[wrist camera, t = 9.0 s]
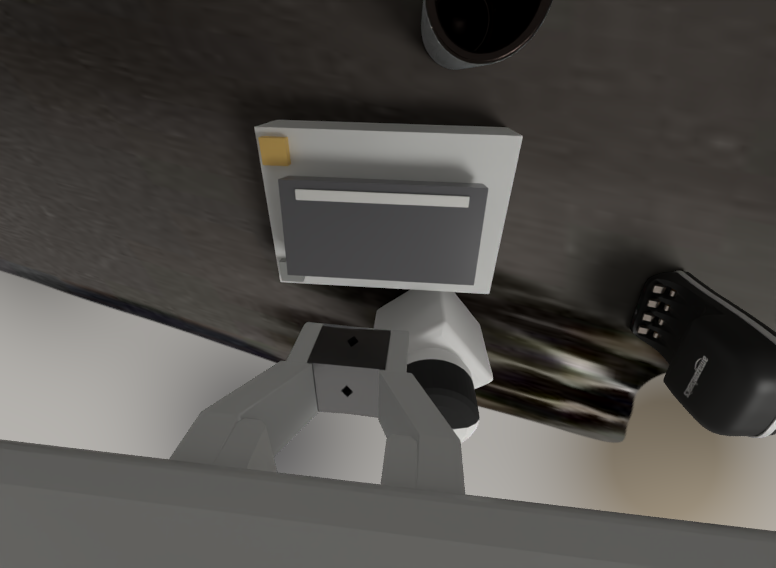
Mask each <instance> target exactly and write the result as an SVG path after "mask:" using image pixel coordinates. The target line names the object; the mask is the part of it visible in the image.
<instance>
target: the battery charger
mask: <svg viewBox="0 0 776 568" xmlns="http://www.w3.org/2000/svg"><path fill="white" fill-rule="evenodd" d="M630 328H631V331H632V332H633V333H634V334H635V335H636V336H637V337H638V338H640V339H641V340H643V341H644V342H646V343H647V344H649V345H650V346H652V347H653V348H654V349H656V350H657V351H658V352H659V353H660V354H661V355H662V356H663V357H664V358H665V359H666V361H667V362H668V363H669V364H670V366H669V368H668V370H667V372H666V375H665V377H664V383H665V384H666V386H667V387H668V388H669V390H670V391H671V393H672V394H673V395H674V396H675V397H676V399H677V400H678V401H679V402H680V403H681V404H682V405H683V407H684V408H685V409H686V410H687V411H688V412H689V413H690V414H691V415H692V416H693V418H695V420H697V421H698V422H699V423H700V424H701V425H702V426H703V427H704V428H706V429H707V430H709V431H711V432H713V433H716V434H720V435H727V436H748V437H753V438H764V437H767V436H769V435H773V434H775V433H776V332H774V331H773V330H772V329H770V328H769V327H768V326H766V325H765V324H763V323H762V322H760V321H759V320H758V319H756V318H755V317H753V316H752V315H750V314H749V313H747V312H746V311H744V310H743V309H741V308H740V307H738V306H737V305H735V304H733V303H732V302H730V301H729V300H727V299H726V298H724V297H722V296H721V295H719V294H718V293H716V292H715V291H713V290H712V289H710V288H709V287H708V286H706V285H705V284H704V283H702V282H701V281H699V280H698V279H697V278H696V277H694V276H693V275H692V274H691V273H689V272H683V271H674V272H666V273H661V274H658V275H654V276H652V277H651V278H649V279H648V280H647V282H646V284H645V285H644V288H643V290H642V293H641V296H640V298H639V301H638V304H637V307H636V310H635V313H634V316H633V319H632V322H631V327H630Z"/></svg>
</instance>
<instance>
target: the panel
mask: <svg viewBox="0 0 776 568" xmlns="http://www.w3.org/2000/svg"><path fill="white" fill-rule="evenodd" d="M254 129H255V135H256V140H257V146H258V152H259V158H260V164H261V170H262V176H263V182H264V188H265V194H266V200H267V205H268V211H269V217H270V223H271V229H272V235H273V241H274V247H275V253H276V259H277V265H278V271H279V276H280V282H289V283H306V284H324V285H341V286H359V287H376V288H394V289H411V290H429V291H446V292H463V293H481V294H489V292H490V287H491V283H492V278H493V273H494V269H495V264H496V259H497V255H498V250H499V245H500V241H501V236H502V231H503V226H504V222H505V217H506V212H507V208H508V203H509V198H510V194H511V189H512V184H513V180H514V175H515V170H516V166H517V161H518V156H519V152H520V147H521V142H522V138H523V136H522V135H520V134H518V133H517V132H515V131H513V130H511V129H509V128H508V127H484V126H454V125H423V124H393V123H363V122H332V121H302V120H275V121H271V122H268V123H265V124H262V125H259V126H255V127H254ZM286 176H312V177H336V178H360V179H385V180H409V181H433V182H457V183H482V184H484V185H485V186H486V187H488V195H487V202H486V208H485V215H484V222H483V228H482V235H481V242H480V248H479V255H478V262H477V268H476V275H475V282H474V285H456V284H438V283H420V282H403V281H385V280H367V279H349V278H331V277H313V276H296V275H288V274H287V264H286V254H285V244H284V234H283V224H282V214H281V204H280V194H279V185H278V179H280V178H283V177H286Z"/></svg>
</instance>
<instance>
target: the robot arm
mask: <svg viewBox="0 0 776 568" xmlns="http://www.w3.org/2000/svg"><path fill="white" fill-rule="evenodd" d="M408 345H409V331H405V330H392V331H391V330H384V329H372V328H359V327H351V326H341V325H332V324H321V323H311V322H307V323H306V324H305V325H304V326H303V328H302V330H301V332H300V334H299V336H298V338H297V340H296V342H295V344H294V346H293V348H292V350H291V352H290V354H289V356H288V358H287V360H286V361H280V362H278V363H277V364H275V365H274V366H272V367H271V368H269V369H268V370H266V371H264V372H263V373H261V374H260V375H258V376H257V377H255V378H253V379H252V380H250V381H249V382H247V383H246V384H244V385H242V386H241V387H239V388H238V389H236V390H234V391H233V392H232V393H230V394H228V395H227V396H225V397H224V398H222V399H220V400H219V401H217V402H216V403H214V404H213V405H211V406H209V407H208V408H206V409H205V410H203V411H202V412H201V413H200V414H199V416H198V417H197V419H196V420H195V422H194V423H193V425H192V426H191V428H190V429H189V430H188V432H187V434H186V435H185V436H184V438H183V440H182V441H181V442H180V444H179V445H178V447H177V448H176V450H175V451H174V453H173V454H172V456H171V457H170V459H169V460H168V459H159V458H152V457H143V456H135V455H126V454H118V453H109V452H101V451H93V450H84V449H76V448H67V447H58V446H50V445H41V444H33V443H24V442H17V441H8V440H0V568H776V531H768V530H760V529H752V528H743V527H734V526H726V525H718V524H710V523H701V522H693V521H684V520H675V519H667V518H659V517H650V516H642V515H633V514H625V513H617V512H608V511H600V510H591V509H583V508H575V507H566V506H557V505H549V504H541V503H532V502H524V501H514V500H507V499H498V498H490V497H482V496H473V495H465V487H464V476H463V465H462V454H461V442H460V439H459V438H458V436H457V435H456V434H455V432H454V431H453V429H452V428H451V427H450V425H449V424H448V422H447V421H446V420H445V418H444V417H443V416H442V414H441V413H440V411H439V410H438V409H437V407H436V406H435V405H434V403H433V402H432V400H431V399H430V398H429V396H428V395H427V394H426V392H425V391H424V389H423V388H422V387H421V385H420V384H419V382H418V381H417V380H416V378H415V377H414V376H413V374H412V373H407V359H408ZM318 411H319V412H332V413H345V414H354V415H361V416H369V417H377V418H378V419H379V422H380V424H381V426H382V428H383V431H384V433H385V435H386V437H387V440H386V448H385V455H384V463H383V471H382V478H381V485H380V484H371V483H362V482H354V481H345V480H337V479H328V478H320V477H311V476H303V475H295V474H286V473H278V472H277V468H276V464H275V460H274V457H275V456H276V455H277V454H278V453H279V452H280V451H281V450H282V449H283V448H284V447H285V446H286V445H287V444H288V443H289V442H290V441H291V440H292V439H293V438H294V437H295V436H296V435H297V434H298V433H299V432H300V431H301V430H302V429H303V428H304V427H305V426H306V425H307V424H308V423H309V422H310V421H311V420H312V418H314V417H315V416H316V415H317V414H318Z"/></svg>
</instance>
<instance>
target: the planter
mask: <svg viewBox="0 0 776 568" xmlns="http://www.w3.org/2000/svg"><path fill="white" fill-rule="evenodd" d="M552 1H553V0H423V8H422V20H421V33H422V39H423V43H424V46H425V48H426V50H427V52H428V54H429V55H430V57H431V58H432V59H433V60H434V61H435V62H436V63H438V64H439V65H441V66H443V67H445V68H448V69H454V70H458V69H465V68H471V67H477V66H483V65H488V64H493V63H496V62H499V61H502V60H504V59H506V58H508V57H510V56H512V55H513V54H515V53H516V52H517V51H519V50H520V49H521V48H522V47H524V46H525V45H526V44H527V43H528V42H529V41H530V39H531V38H532V37H533V36H534V35H535V33H536V32H537V31H538V29H539V28H540V26H541V25H542V23H543V21H544V19H545V17H546V16H547V13H548V11H549V9H550V6H551V4H552Z"/></svg>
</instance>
